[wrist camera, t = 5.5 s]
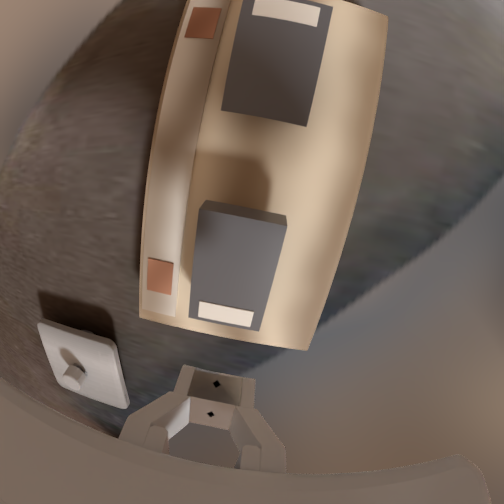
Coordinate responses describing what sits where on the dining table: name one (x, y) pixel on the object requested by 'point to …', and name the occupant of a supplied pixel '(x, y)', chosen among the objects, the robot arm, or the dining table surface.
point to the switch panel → (258, 168)
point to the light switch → (84, 363)
